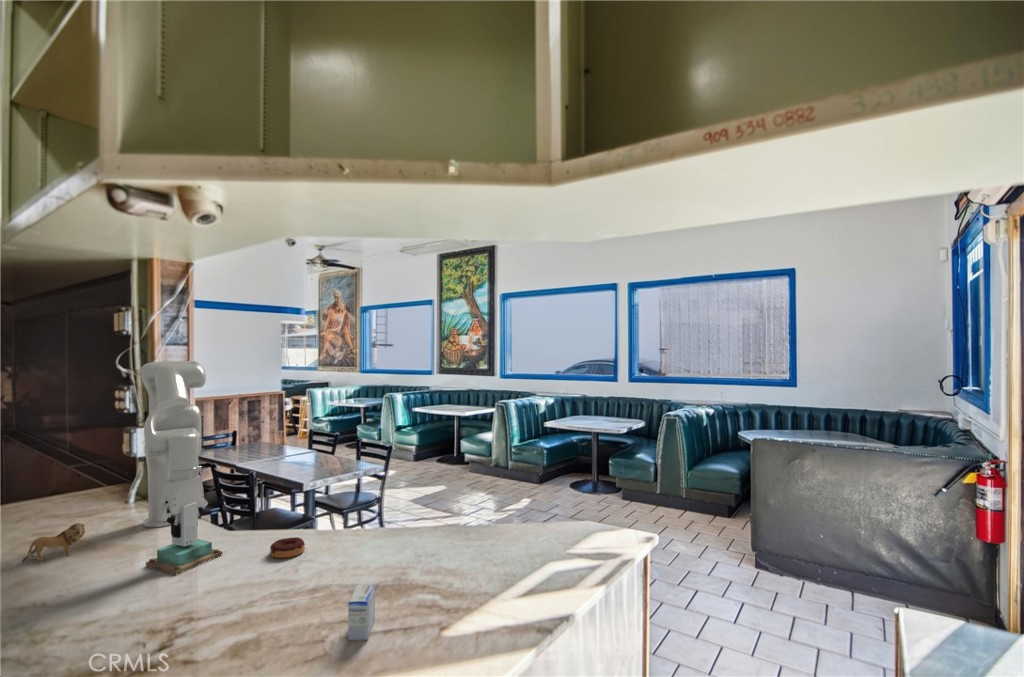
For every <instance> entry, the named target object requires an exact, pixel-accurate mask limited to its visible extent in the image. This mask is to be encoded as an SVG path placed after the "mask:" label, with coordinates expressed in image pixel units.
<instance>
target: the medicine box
mask: <svg viewBox="0 0 1024 677" xmlns="http://www.w3.org/2000/svg"><path fill="white" fill-rule="evenodd" d="M375 599H376V585H375V584H369V583H368V584H356V585H355V588H354V590H353V592H352V595H351V596H350V598H349V602H348V604H347V605H348V608H347V610H348V611H347V612H348V613H347V614H348V615H347V616H348V620H347V622H348V624H347V625H348V626H347V627H348V636H347V637H348V641H365V640H369V638H370V634H371V633H372V632H371V631H372V628H373V625H374V622H375V618H376V600H375Z"/></svg>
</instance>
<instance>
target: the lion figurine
mask: <svg viewBox="0 0 1024 677" xmlns="http://www.w3.org/2000/svg"><path fill="white" fill-rule="evenodd" d="M85 533H86V528H85V523H81V522H80V523H79V522H76V523H73V524H72V525H70V527H68V528H67V529H64V530H63V531H61V532H60V533H59V534H56V535H53V536H40V537H37V538H36V539H34V540H33V541H32V542H31V544H30V546H29V549H28V552H27V555H26V556H25V557H24V558H23V559H22V560H21V561H20V562H25V561H27V560H28V558H29V559H30V560H36V559H37V560H38V561H39V562H43V561H45V557H42V556H41V554H42V552H43V549H44V548H48V549H58V548H61V547H62V548H63V553H64V556H65V557H70V556H71V555H72V553H71V550H70V546H72V545H76V544H77V542H79V540H80V539H81V538H83V537H84V535H85ZM33 547H34V549H33ZM32 549H33V550H32ZM35 554H36V555H35ZM69 555H70V556H69Z"/></svg>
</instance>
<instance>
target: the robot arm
mask: <svg viewBox="0 0 1024 677" xmlns="http://www.w3.org/2000/svg"><path fill="white" fill-rule="evenodd" d="M205 370H206V369H205V368H204V366H203V365H202V364H201V363H199V362H198V361H195V360H180V361H178V360H176V361H170V360H169V361H168V360H166V361H153V362H152V361H151V362H147V363H145V364H143V365H142V366H141V367H140V378H141V380H142V384H143V386H144V387H145V389H146V391H147V394H148V413H149V414H148V416H147V417H146V420H145V423H144V425H143V435H144V447H143V448H144V449H143V450H144V456H145V461H146V467H147V469H146V470H147V494H148V495H147V496H148V497H147V501H148V502H147V504H148V505H147V507H148V508H147V510H148V511H147V513H148V515H147V516H148V517H147V518H145V520H143V521H142V522H143V523H142V525H143V527H146V528H161V527H167V526H170V535H171V538H172V537H175V538H180V537H181V525H180V524H178V523H179V518H180V514H181V513H182V506H185V505H188V504H191V503H194V502H197V528H199V527H198V526H199V523H198V522H199V521H198V518H200V515H201V513H202V512H203V510H204V509H205V508H206V507H207V506H208V504H209V501H208V500H206V498H205V497H204V496H205V495H204V486H203V485H204V484H203V482H202V481H203V480H202V477H201V475H200V471H202V470H203V467H202V465H199V455H200V453H201V452H202V413H201V410H200V408H199V407H198V405H196V404H193V403H190V396H189V393H188V389H199V388H202V387H204V386H205V384H206V381H207V374H206V371H205Z"/></svg>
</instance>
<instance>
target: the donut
mask: <svg viewBox="0 0 1024 677" xmlns="http://www.w3.org/2000/svg"><path fill="white" fill-rule="evenodd" d="M305 548H306V547H305V541H304V540H303V539H302V538H301V537H299V536H298V537H287V538H281V539H278V540H275V541H274V542H273V543H271V545H270V549H269V554H270V556H272V557H273V558H277V559H287V558H294V557H298V556H299V555H301V554H303V552H304V551H305Z"/></svg>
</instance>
